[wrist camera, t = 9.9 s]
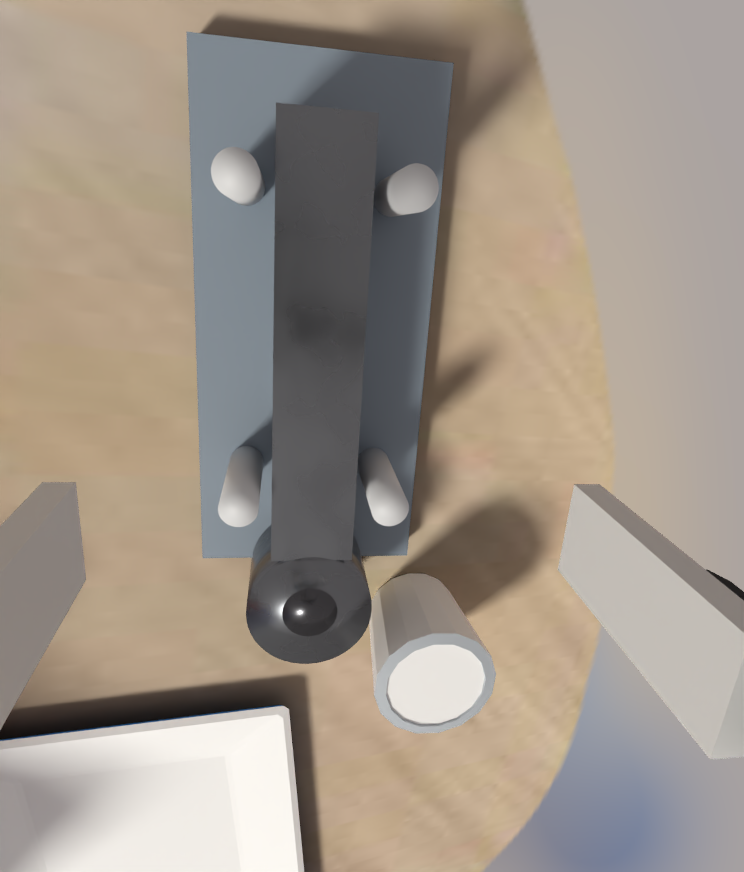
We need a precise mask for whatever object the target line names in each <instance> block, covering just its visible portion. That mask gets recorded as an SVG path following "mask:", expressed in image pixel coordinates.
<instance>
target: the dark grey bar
mask: <svg viewBox="0 0 744 872" xmlns="http://www.w3.org/2000/svg"><path fill="white" fill-rule="evenodd" d="M378 122H379V113H376V112H366V111H356V110H346V109H336V108H327V107H317V106H307V105H297V104H287V103H277V102H276V145H275V236H274V326H273V417H272V508H271V525H270V526H269V527H268V528H267V529H266V530H265V531H264V532H263V533H262V535H261V536H260V537H259V539H258V541H257V542H256V545H255V547H254V550H253V554H252V562H251V571H250V581H249V590H248V599H247V610H246V618H247V624H248V628H249V630H250V633H251V635H252V636H253V638H254V640H255V641H256V642H257V643H258V645H259V646H260V647H261V648H263V649H264V650H265V651H266V652H268V653H269V654H271V655H272V656H274V657H276V658H279V659H281V660H284V661H288V662H292V663H301V664H309V663H318V662H323V661H326V660H329V659H332V658H334V657H337V656H339V655H341V654H342V653H344V652H346V651H347V650H348V649H350V648H351V647H352V646H353V645H354V644H356V643H357V641H358V640H359V639H360V638H361V637H362V635H363V634H364V632H365V631H366V628H367V626H368V624H369V621H370V618H371V612H372V602H371V596H370V592H369V588H368V583H367V579H366V575H365V570H364V566H363V562H362V558H361V553H360V549H359V546H358V542H357V540H356V538H355V536H354V535H353V533H354V517H355V500H356V484H357V467H358V451H359V434H360V418H361V401H362V385H363V368H364V352H365V336H366V319H367V303H368V286H369V270H370V253H371V237H372V220H373V204H374V188H375V171H376V155H377V138H378Z"/></svg>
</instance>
